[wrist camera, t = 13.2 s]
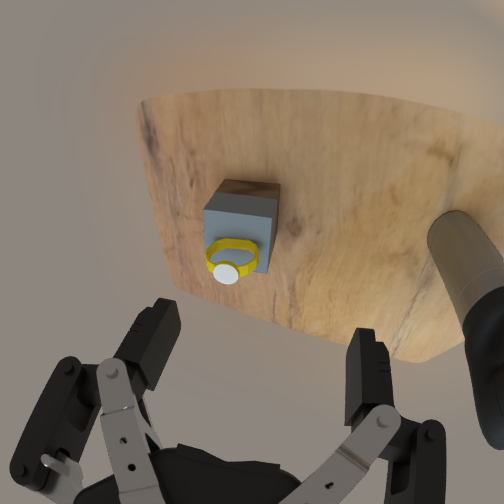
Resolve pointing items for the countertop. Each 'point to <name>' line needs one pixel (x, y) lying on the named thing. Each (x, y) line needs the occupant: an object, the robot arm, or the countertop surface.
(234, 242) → the watch
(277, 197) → the walnut block
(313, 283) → the countertop surface
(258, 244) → the grey block
